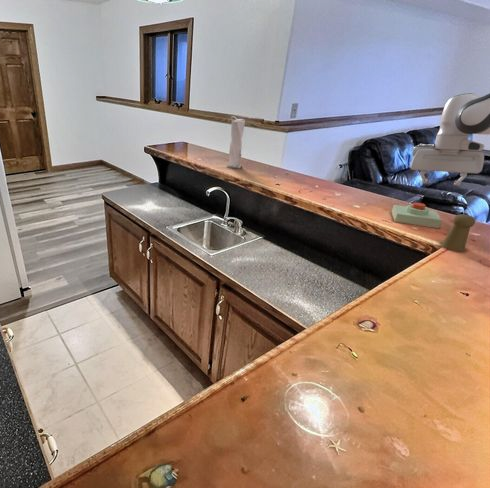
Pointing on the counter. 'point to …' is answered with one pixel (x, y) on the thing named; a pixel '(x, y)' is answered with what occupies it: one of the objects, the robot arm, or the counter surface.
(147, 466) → the counter surface
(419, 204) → the release button
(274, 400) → the counter surface
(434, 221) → the button base
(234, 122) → the skyscraper
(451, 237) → the cork
